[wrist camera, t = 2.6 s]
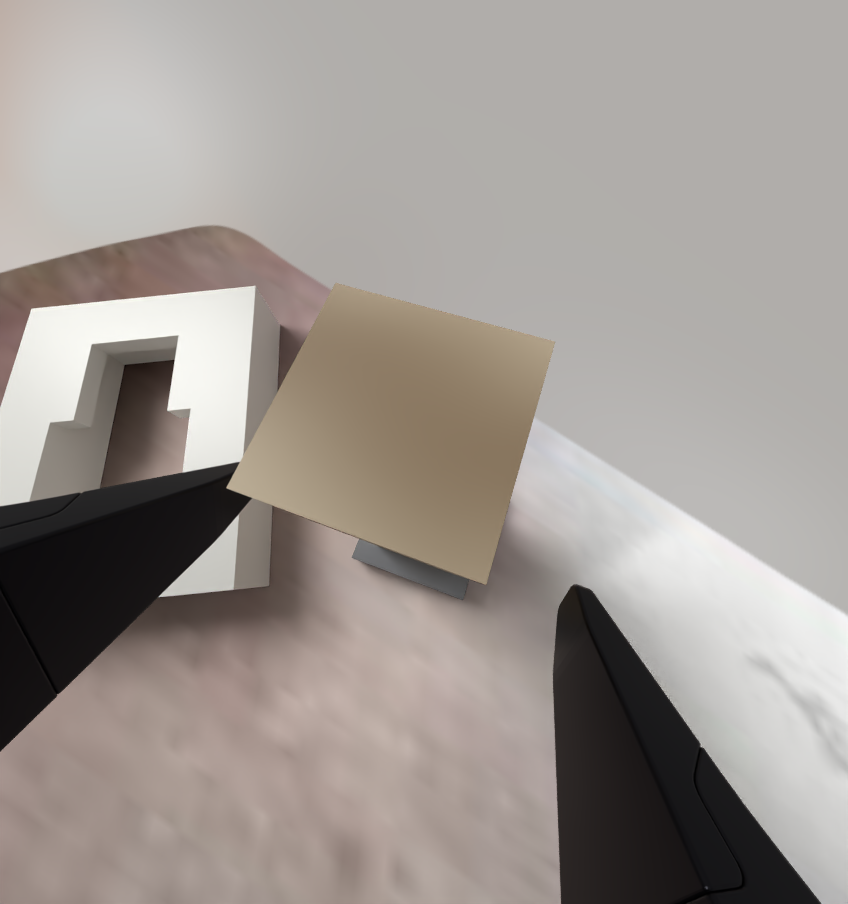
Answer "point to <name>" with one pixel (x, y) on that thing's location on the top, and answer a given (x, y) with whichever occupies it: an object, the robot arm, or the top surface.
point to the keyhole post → (401, 434)
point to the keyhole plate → (191, 395)
